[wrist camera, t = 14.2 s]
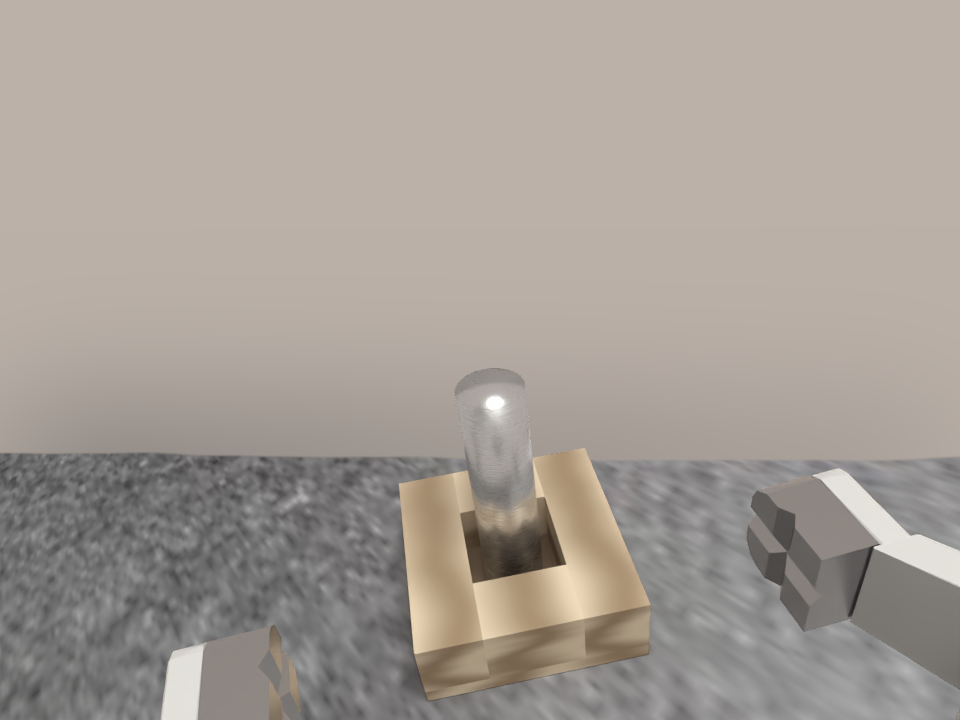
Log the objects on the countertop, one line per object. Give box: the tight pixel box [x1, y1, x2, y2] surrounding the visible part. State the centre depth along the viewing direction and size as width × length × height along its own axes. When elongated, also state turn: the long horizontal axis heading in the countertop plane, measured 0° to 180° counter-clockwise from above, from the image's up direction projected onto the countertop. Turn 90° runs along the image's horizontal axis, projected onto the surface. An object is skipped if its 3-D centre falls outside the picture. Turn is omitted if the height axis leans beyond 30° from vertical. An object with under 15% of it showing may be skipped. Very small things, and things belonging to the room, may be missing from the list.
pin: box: [455, 368, 544, 581], centre depth 45 cm, size 4×4×16 cm
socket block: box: [399, 448, 651, 701], centre depth 48 cm, size 14×14×5 cm
